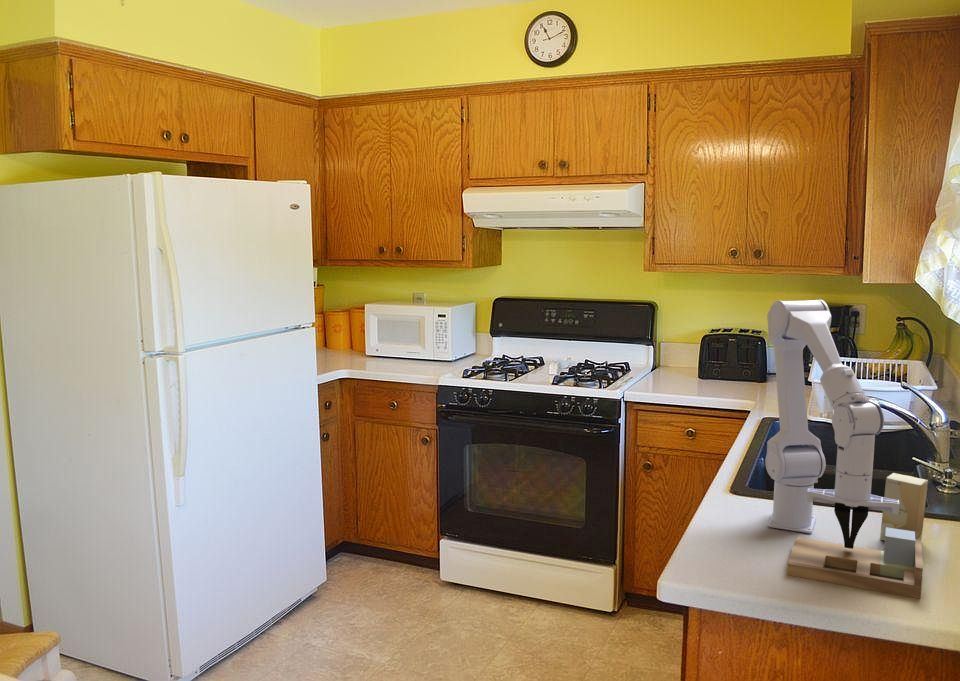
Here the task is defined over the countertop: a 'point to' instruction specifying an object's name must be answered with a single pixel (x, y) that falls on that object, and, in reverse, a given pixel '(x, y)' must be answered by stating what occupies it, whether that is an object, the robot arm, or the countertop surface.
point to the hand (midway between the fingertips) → (849, 546)
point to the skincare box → (905, 504)
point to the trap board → (855, 567)
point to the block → (899, 546)
